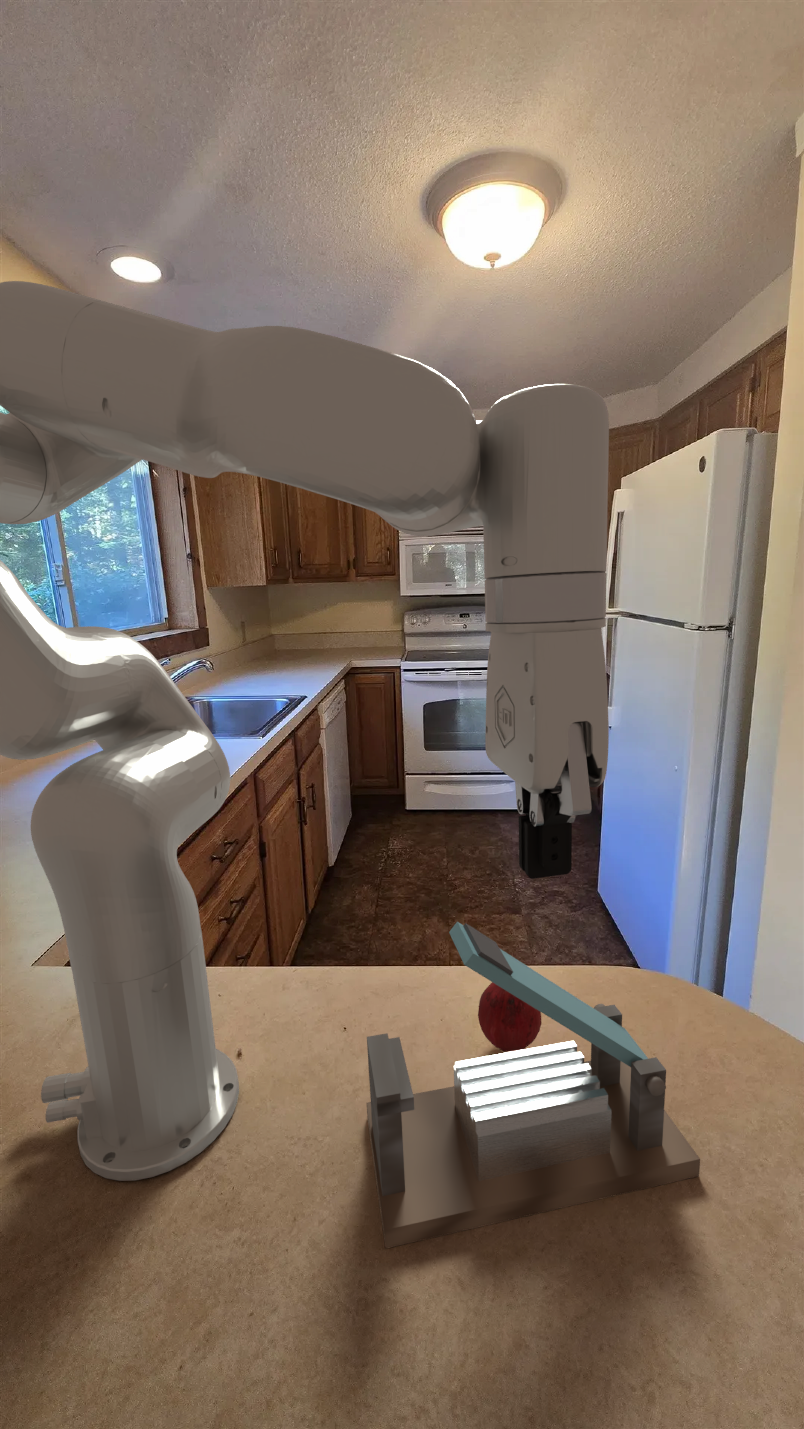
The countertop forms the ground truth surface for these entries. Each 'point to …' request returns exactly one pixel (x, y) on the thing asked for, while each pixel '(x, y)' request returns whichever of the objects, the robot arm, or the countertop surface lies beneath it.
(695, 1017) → the countertop surface
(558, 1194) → the clip base
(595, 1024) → the bar
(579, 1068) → the heat sink
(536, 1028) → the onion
